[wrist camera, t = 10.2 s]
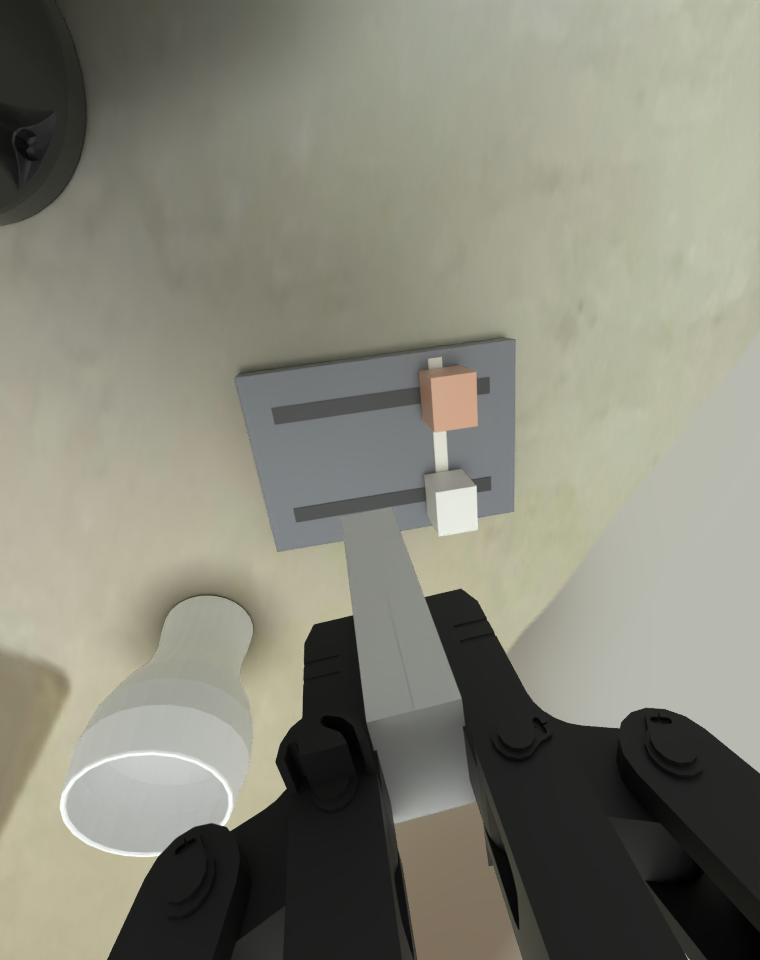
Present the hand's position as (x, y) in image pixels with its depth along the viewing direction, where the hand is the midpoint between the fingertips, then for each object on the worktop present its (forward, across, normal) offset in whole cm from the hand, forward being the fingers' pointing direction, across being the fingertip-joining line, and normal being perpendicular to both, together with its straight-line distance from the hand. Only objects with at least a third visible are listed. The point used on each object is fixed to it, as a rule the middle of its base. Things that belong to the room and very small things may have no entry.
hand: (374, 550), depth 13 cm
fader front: (+19, +7, -1) cm, 20 cm away
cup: (+21, -16, -18) cm, 32 cm away
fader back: (+19, +7, -9) cm, 22 cm away
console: (+21, +3, -4) cm, 22 cm away
